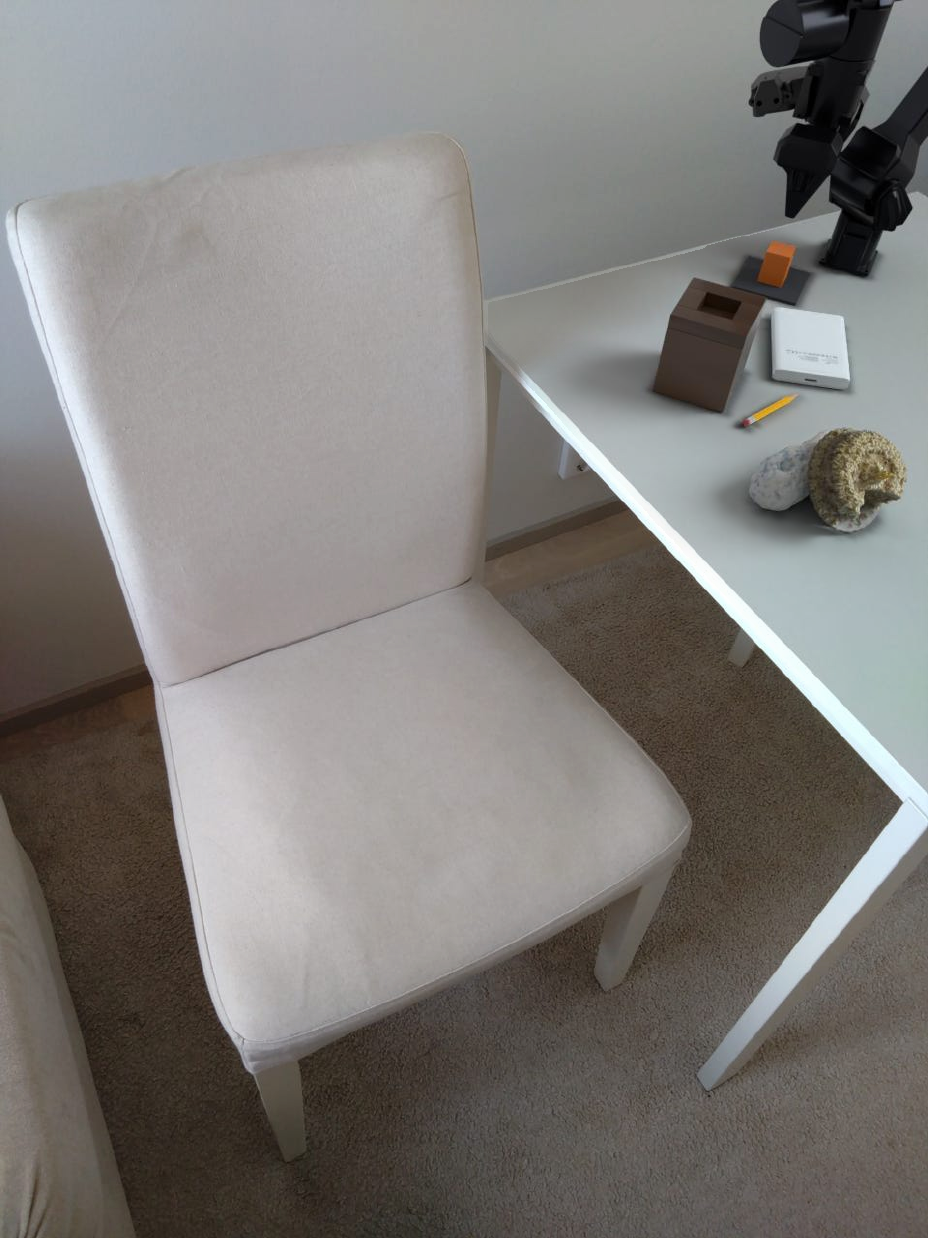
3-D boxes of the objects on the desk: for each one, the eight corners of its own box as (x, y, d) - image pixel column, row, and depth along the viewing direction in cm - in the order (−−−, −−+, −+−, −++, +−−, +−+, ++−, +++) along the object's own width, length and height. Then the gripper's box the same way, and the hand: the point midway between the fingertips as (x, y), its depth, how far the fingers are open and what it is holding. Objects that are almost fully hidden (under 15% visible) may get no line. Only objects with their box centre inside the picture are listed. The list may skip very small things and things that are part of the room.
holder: (675, 352, 104) (693, 276, 97) (743, 373, 102) (767, 297, 95) (652, 390, 100) (670, 314, 92) (722, 413, 98) (746, 336, 90)
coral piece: (786, 453, 85) (829, 442, 80) (859, 412, 88) (905, 399, 83) (825, 550, 86) (870, 544, 81) (896, 506, 89) (943, 498, 84)
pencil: (741, 423, 96) (743, 418, 96) (794, 394, 100) (796, 389, 99) (747, 427, 96) (749, 422, 95) (799, 398, 99) (801, 393, 99)
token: (763, 270, 116) (772, 240, 112) (786, 276, 115) (796, 246, 112) (757, 281, 114) (766, 251, 111) (780, 287, 113) (790, 257, 110)
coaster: (748, 258, 118) (749, 255, 118) (810, 274, 116) (810, 272, 116) (731, 287, 113) (732, 285, 113) (795, 305, 111) (796, 303, 111)
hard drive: (839, 327, 109) (846, 390, 101) (769, 318, 109) (771, 379, 102) (844, 315, 107) (851, 378, 100) (774, 305, 108) (775, 367, 100)
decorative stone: (783, 536, 86) (801, 498, 82) (734, 494, 90) (748, 455, 86) (876, 485, 91) (896, 446, 87) (825, 447, 95) (843, 408, 91)
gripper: (792, 8, 101) (752, 152, 114) (747, 65, 91) (709, 217, 103) (893, 28, 99) (842, 173, 111) (859, 89, 88) (806, 242, 100)
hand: (798, 199), depth 106 cm, fingers open, 9 cm apart
